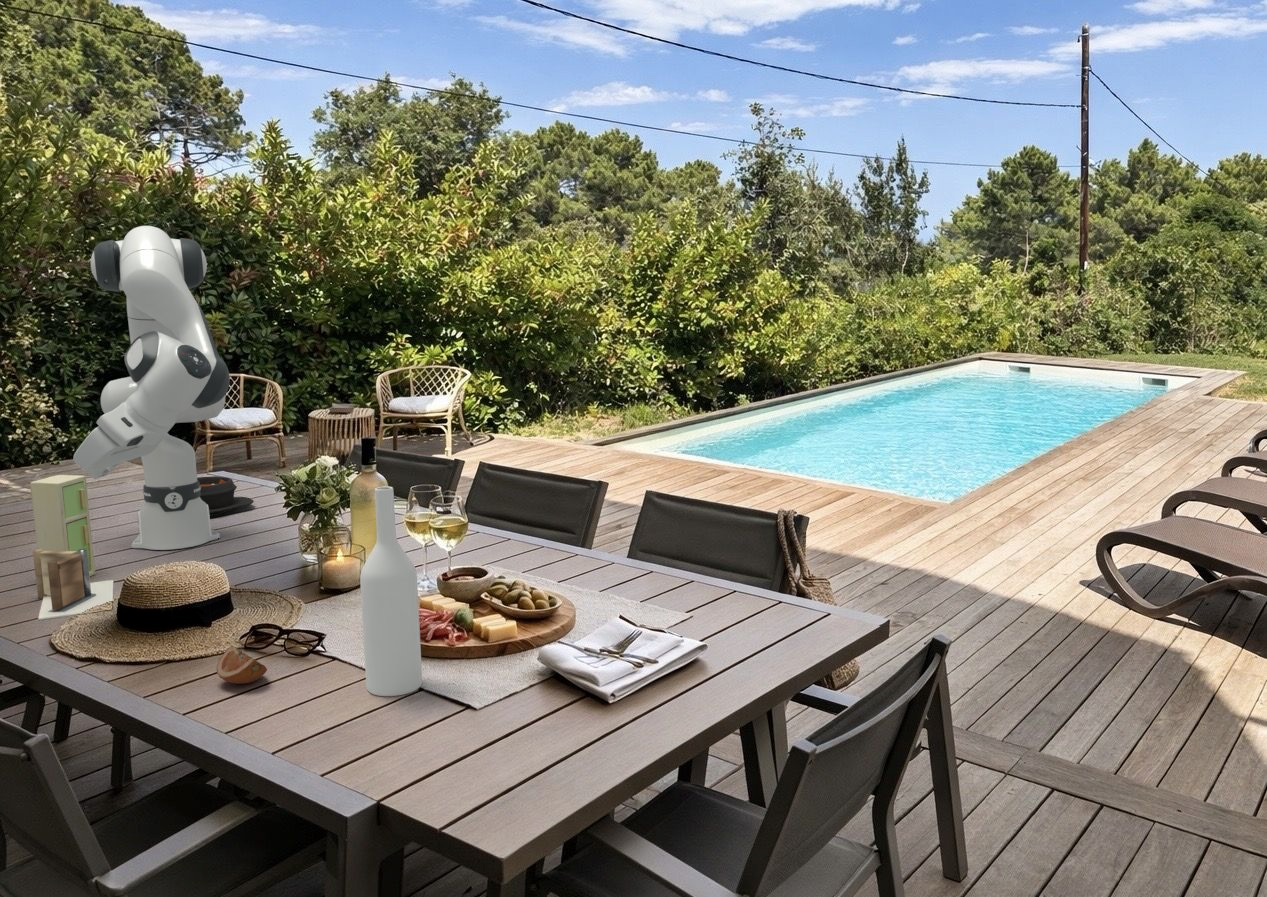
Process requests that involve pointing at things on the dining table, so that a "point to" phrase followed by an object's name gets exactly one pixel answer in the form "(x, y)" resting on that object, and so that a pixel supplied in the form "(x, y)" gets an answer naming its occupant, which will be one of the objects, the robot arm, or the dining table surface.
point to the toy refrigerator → (62, 515)
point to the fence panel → (66, 580)
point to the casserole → (220, 494)
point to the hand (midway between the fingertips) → (96, 475)
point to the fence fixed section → (48, 556)
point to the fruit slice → (239, 667)
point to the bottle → (390, 609)
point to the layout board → (79, 601)
